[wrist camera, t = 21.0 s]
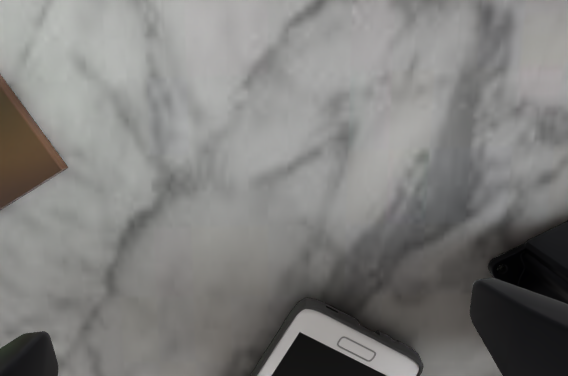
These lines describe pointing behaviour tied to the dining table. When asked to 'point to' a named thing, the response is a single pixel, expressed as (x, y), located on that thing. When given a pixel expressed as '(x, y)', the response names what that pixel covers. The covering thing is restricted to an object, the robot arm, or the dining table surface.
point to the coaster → (22, 150)
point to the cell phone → (333, 347)
